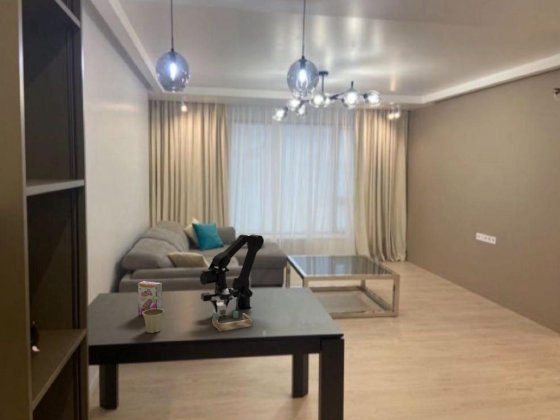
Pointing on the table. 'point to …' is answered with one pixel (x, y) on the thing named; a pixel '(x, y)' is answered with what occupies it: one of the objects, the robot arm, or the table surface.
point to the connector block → (221, 309)
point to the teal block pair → (235, 315)
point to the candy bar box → (149, 296)
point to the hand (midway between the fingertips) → (220, 311)
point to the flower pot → (153, 319)
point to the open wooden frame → (233, 323)
